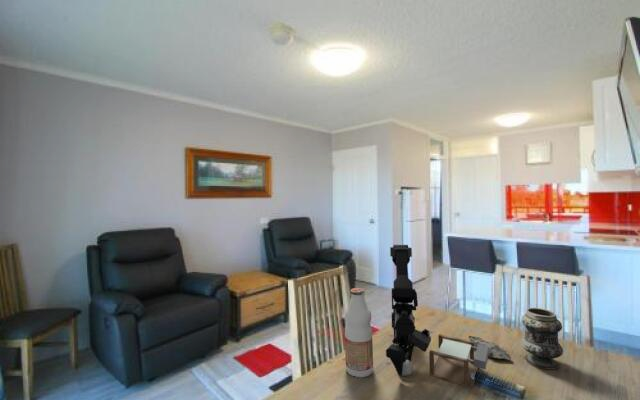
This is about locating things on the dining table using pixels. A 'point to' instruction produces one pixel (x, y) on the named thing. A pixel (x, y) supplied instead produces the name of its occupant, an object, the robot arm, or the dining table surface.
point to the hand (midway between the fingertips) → (404, 368)
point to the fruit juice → (358, 336)
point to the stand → (452, 364)
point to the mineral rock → (491, 348)
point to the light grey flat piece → (466, 352)
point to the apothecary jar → (541, 338)
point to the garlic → (407, 368)
